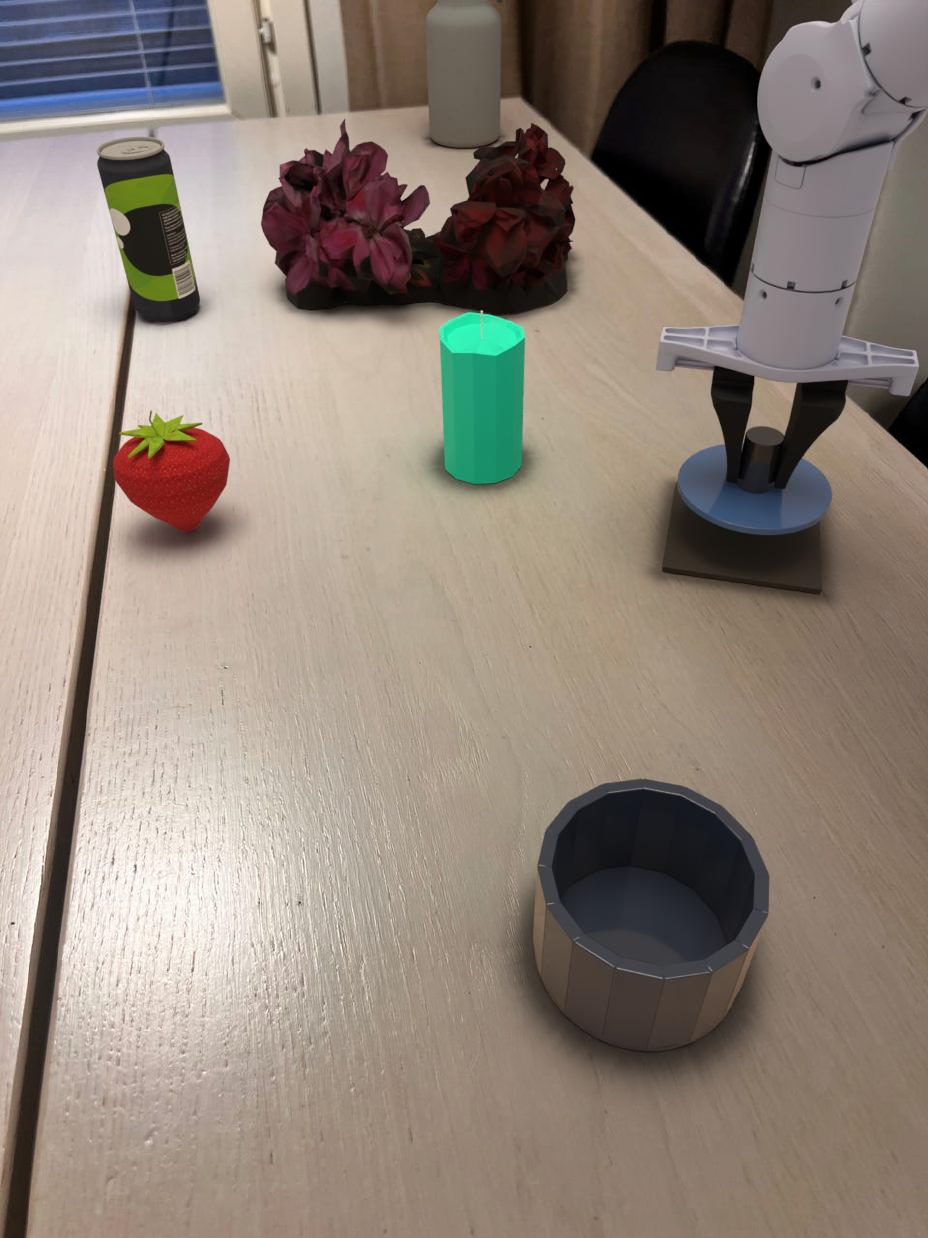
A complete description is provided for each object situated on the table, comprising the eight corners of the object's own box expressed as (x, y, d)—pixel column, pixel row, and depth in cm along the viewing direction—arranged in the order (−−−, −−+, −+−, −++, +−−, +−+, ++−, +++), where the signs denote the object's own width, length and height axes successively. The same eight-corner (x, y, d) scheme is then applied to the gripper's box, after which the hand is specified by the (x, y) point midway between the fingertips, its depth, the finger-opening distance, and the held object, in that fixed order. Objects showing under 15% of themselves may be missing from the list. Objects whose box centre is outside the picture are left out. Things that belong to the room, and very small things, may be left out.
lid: (826, 465, 65) (843, 405, 62) (830, 553, 58) (850, 489, 55) (682, 448, 67) (691, 389, 64) (669, 531, 60) (679, 468, 57)
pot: (744, 883, 45) (771, 801, 41) (735, 1076, 39) (767, 1003, 34) (553, 844, 47) (560, 762, 43) (515, 1022, 41) (518, 947, 36)
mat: (817, 504, 68) (819, 499, 67) (820, 594, 60) (821, 589, 60) (675, 486, 70) (676, 481, 69) (661, 571, 62) (662, 566, 62)
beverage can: (195, 292, 96) (160, 131, 86) (207, 317, 92) (172, 151, 81) (132, 304, 94) (89, 140, 84) (141, 330, 90) (97, 161, 80)
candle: (433, 448, 74) (427, 299, 66) (506, 434, 75) (508, 287, 67) (456, 490, 70) (452, 336, 61) (533, 475, 71) (539, 322, 63)
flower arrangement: (555, 236, 105) (563, 85, 95) (602, 314, 91) (616, 145, 80) (271, 258, 102) (247, 104, 92) (271, 342, 87) (243, 170, 77)
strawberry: (245, 548, 65) (217, 420, 58) (132, 564, 64) (90, 436, 57) (242, 499, 69) (215, 374, 62) (136, 513, 68) (97, 388, 61)
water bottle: (499, 126, 136) (501, -122, 117) (506, 147, 128) (509, -113, 109) (428, 129, 135) (418, -120, 116) (431, 150, 128) (421, -111, 109)
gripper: (935, 253, 54) (870, 457, 63) (676, 234, 57) (650, 431, 66) (949, 306, 49) (876, 519, 58) (665, 282, 52) (638, 489, 61)
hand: (756, 477), depth 62 cm, fingers closed on lid, 2 cm apart
